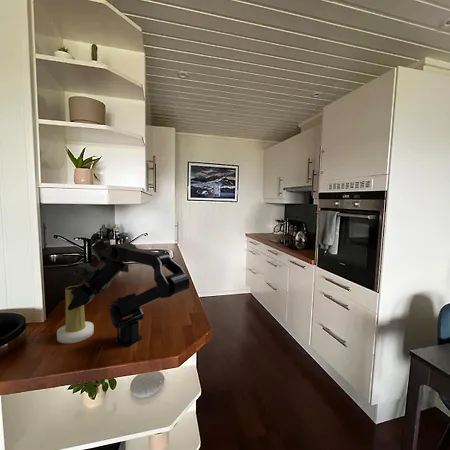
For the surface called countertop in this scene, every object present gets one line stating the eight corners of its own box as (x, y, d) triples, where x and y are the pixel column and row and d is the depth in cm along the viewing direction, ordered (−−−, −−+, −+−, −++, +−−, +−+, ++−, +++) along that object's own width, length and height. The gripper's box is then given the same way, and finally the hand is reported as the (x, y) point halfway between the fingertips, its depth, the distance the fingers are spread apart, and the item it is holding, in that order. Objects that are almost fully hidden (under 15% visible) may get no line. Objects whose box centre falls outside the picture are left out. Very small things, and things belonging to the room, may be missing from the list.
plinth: (100, 331, 94) (100, 324, 94) (71, 346, 84) (71, 338, 84) (79, 325, 98) (79, 319, 98) (49, 339, 88) (49, 331, 88)
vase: (63, 328, 91) (61, 287, 90) (82, 322, 95) (81, 283, 94) (68, 334, 86) (66, 291, 85) (88, 328, 91) (86, 287, 90)
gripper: (101, 251, 99) (72, 280, 99) (76, 261, 80) (40, 297, 80) (123, 271, 100) (94, 300, 100) (103, 286, 81) (67, 322, 81)
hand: (75, 304), depth 90 cm, fingers open, 9 cm apart
